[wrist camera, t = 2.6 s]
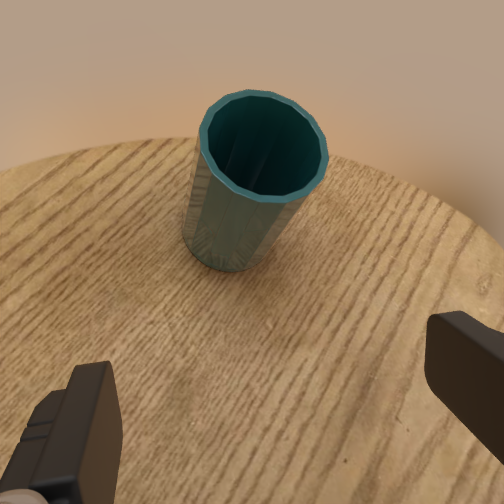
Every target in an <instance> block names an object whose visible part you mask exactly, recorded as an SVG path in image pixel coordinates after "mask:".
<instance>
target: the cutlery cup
mask: <svg viewBox="0 0 504 504" xmlns="http://www.w3.org/2000/svg"><path fill="white" fill-rule="evenodd" d="M328 161H329V155H328V149H327V143H326V138H325V135H324V134H323V132H322V131H321V129H320V127H319V126H318V124H317V122H316V121H315V119H314V118H313V117H312V116H311V115H310V114H309V113H308V112H307V111H306V110H304V109H303V108H302V107H301V106H299V105H298V104H297V103H296V102H294V101H293V100H290V99H288V98H285V97H283V96H281V95H279V94H276V93H274V92H271V91H260V90H249V89H248V90H243V91H239V92H235V93H231V94H227V95H225V96H224V97H222V98H221V99H220V100H218V101H217V102H216V103H215V104H213V105H212V106H211V107H209V109H208V110H207V112H206V114H205V116H204V118H203V121H202V123H201V125H200V127H199V132H198V137H197V142H196V147H195V152H194V157H193V163H192V168H191V173H190V178H189V183H188V188H187V193H186V199H185V204H184V209H183V214H182V233H183V237H184V240H185V243H186V245H187V247H188V248H189V250H190V251H191V253H192V254H193V255H194V256H195V257H196V258H197V259H198V260H199V261H201V262H202V263H203V264H205V265H207V266H209V267H211V268H213V269H216V270H219V271H225V272H238V271H243V270H246V269H249V268H251V267H253V266H255V265H257V264H258V263H259V262H261V261H262V260H263V259H264V257H265V256H266V255H267V254H268V253H269V252H270V250H271V249H272V248H273V247H274V245H275V244H276V243H277V241H278V240H279V238H280V237H281V236H282V234H283V233H284V232H285V230H286V229H287V228H288V226H289V225H290V224H291V222H292V221H293V220H294V218H295V217H296V216H297V214H298V213H299V211H300V210H301V209H302V207H303V206H304V205H305V203H306V202H307V201H308V199H309V198H310V197H311V195H312V194H313V193H314V191H315V190H316V188H317V187H318V186H319V184H320V183H321V182H322V180H323V179H324V176H325V172H326V168H327V165H328Z"/></svg>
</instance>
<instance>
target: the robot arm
mask: <svg viewBox="0 0 504 504" xmlns="http://www.w3.org/2000/svg"><path fill="white" fill-rule="evenodd" d="M424 370H425V377H426V380H427V383H428V385H429V387H430V389H431V390H432V392H433V393H434V394H435V395H436V396H437V397H438V398H439V399H440V400H441V401H442V402H443V403H444V404H445V405H446V406H447V407H448V409H449V410H450V411H451V412H452V413H453V414H454V415H455V416H456V417H457V418H458V419H459V420H460V421H461V422H462V423H463V424H464V425H465V426H466V427H467V428H468V429H469V430H470V431H471V432H472V433H473V434H474V435H475V436H476V437H477V438H478V439H479V440H480V441H481V442H482V443H483V444H484V446H485V447H486V448H487V449H488V450H489V451H490V452H491V453H492V454H493V455H494V456H495V457H496V458H497V459H498V460H499V461H500V462H501V463H502V464H503V465H504V333H502V332H499V331H496V330H494V329H491V328H488V327H487V326H485V325H484V324H482V323H481V322H479V321H477V320H476V319H474V318H473V317H471V316H470V315H468V314H467V313H465V312H463V311H453V312H446V313H439V314H433V315H431V316H430V317H429V319H428V322H427V332H426V349H425V365H424ZM122 441H123V430H122V419H121V413H120V407H119V402H118V396H117V391H116V385H115V379H114V374H113V369H112V365H111V363H110V361H103V362H96V363H89V364H82V365H76V366H75V367H74V370H73V372H72V375H71V377H70V380H69V382H68V385H67V387H66V389H62V390H56V391H51V392H50V393H49V394H48V395H47V396H46V397H45V398H44V399H43V400H42V401H41V402H40V403H39V404H38V405H37V406H36V407H35V408H34V410H33V413H32V415H31V417H30V419H29V421H28V423H27V428H25V429H24V431H23V433H22V436H21V438H20V442H19V443H18V444H17V446H16V448H15V450H14V452H13V454H12V457H11V459H10V461H9V463H8V465H7V467H6V469H5V471H4V473H3V475H2V478H1V480H0V504H113V503H114V497H115V490H116V483H117V477H118V470H119V463H120V457H121V450H122Z"/></svg>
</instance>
